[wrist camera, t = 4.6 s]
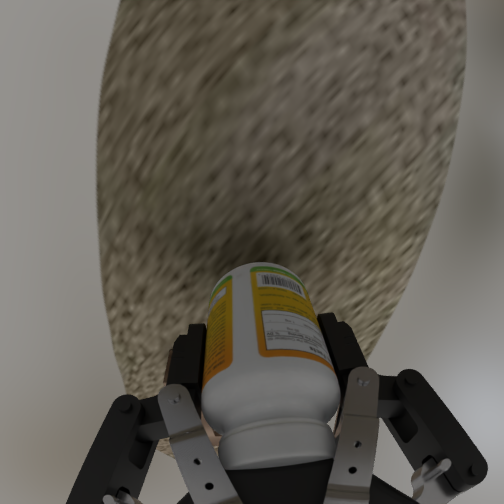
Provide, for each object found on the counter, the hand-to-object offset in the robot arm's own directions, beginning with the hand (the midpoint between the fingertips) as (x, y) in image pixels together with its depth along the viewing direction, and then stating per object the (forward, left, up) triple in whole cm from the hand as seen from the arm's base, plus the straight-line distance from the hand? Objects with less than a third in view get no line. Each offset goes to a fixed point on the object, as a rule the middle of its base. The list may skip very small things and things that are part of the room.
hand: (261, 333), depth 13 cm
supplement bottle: (0, 0, -3) cm, 3 cm away
